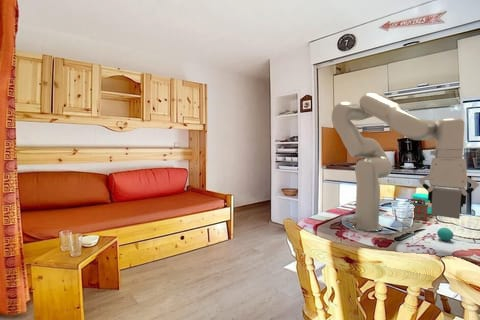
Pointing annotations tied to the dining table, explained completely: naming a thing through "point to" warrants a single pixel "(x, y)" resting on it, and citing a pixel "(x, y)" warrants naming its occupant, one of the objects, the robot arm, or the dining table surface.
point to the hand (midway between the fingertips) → (446, 204)
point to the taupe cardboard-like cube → (446, 202)
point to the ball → (445, 234)
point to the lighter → (420, 209)
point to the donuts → (422, 197)
